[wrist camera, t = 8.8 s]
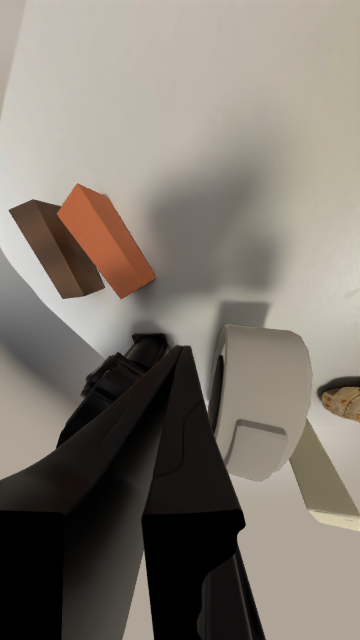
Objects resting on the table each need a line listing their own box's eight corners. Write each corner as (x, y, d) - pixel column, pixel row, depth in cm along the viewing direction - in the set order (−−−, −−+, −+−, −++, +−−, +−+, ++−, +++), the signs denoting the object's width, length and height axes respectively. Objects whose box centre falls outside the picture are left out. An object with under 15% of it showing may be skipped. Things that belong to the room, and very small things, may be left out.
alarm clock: (221, 303, 18) (235, 391, 7) (271, 306, 17) (379, 418, 6) (207, 399, 29) (204, 489, 19) (236, 405, 28) (251, 504, 17)
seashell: (332, 387, 18) (447, 422, 14) (325, 360, 22) (412, 379, 17) (314, 418, 22) (399, 454, 17) (310, 390, 26) (379, 413, 21)
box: (263, 391, 25) (304, 509, 14) (290, 387, 23) (364, 520, 12) (273, 407, 26) (317, 524, 15) (299, 404, 24) (371, 536, 13)
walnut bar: (105, 288, 21) (84, 296, 17) (85, 290, 22) (62, 298, 18) (70, 208, 16) (32, 199, 13) (48, 216, 17) (7, 209, 14)
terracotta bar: (156, 277, 18) (143, 284, 15) (136, 290, 20) (120, 299, 16) (108, 197, 15) (76, 182, 11) (88, 220, 16) (56, 213, 13)
